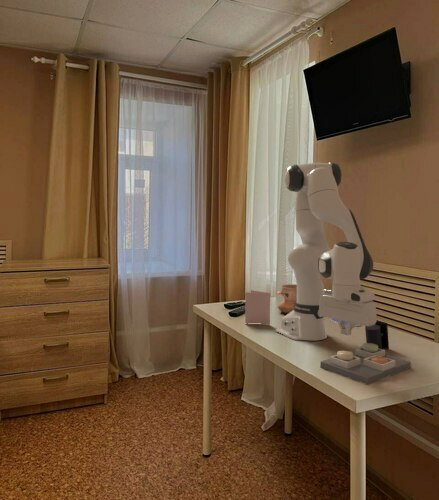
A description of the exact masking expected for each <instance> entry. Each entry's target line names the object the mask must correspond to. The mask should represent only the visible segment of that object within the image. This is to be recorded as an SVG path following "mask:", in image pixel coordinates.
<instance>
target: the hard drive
mask: <svg viewBox="0 0 439 500" xmlns="http://www.w3.org/2000/svg"><path fill="white" fill-rule="evenodd" d="M332 320H333V321H332ZM331 321H332V322H334V321H335V322H334V323H336V322H337V323H336V324H338V320H337V319H332V318H331ZM344 325H345V327H346V328H347V327H348V325H347V322H346V321H345V323H344ZM361 326H362V325H359V324H355V325H354V327H361Z"/></svg>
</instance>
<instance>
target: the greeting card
mask: <svg viewBox="0 0 439 500" xmlns="http://www.w3.org/2000/svg"><path fill="white" fill-rule="evenodd" d="M244 293H245V299H244V301H245V308H244V312H245V314H244V316H245V317H244V318H245V320H244V322H245V323H261V324H270V325H271V293H270V292H264V291H258V290H250V292H244ZM245 323H244V324H245Z"/></svg>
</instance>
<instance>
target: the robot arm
mask: <svg viewBox="0 0 439 500" xmlns="http://www.w3.org/2000/svg"><path fill="white" fill-rule="evenodd" d="M342 176H343V175H342V170H341V167H340V165H339V164H337V163H335V162H327V163H326V162H310V163H303V164H292V165H290V166H288V167H287V168H286V169H285V173H284V184H285V186H286V188H287V190H288V191H290V192H295V200H294V212H295V213H294V215H295V216H294V217H295V230H296V232H297V234H298V235H299V236H300V240H301V243H302V244H299V245H297V246H295V247H293V248H291V250H289V253H288V255H287V262H288V265H289V266H290V268H291V269H292V271H293V273H294V276H295V277H294V278H295V282H296V283H295V284H296V285H297V302H296V303H292V304H294V305H292V306H294V309H293V311H291V312H290V313H289V314H286V315H284V316H283V317H282V319H281V323H280V326H277V327H276V328H275V332H276V333H278V332H279V334H280V333H281V334H280V335H282V334H283V336H285V337H287V338H289V339H292V340H295V341H321V340H322V341H323V340H325V339H327V338H328V335H327V331H326V325H325V318H328V319H331V320H332V319H337V320H338V323H337V324H338V327H339V329H340V334H342V335H346V336H351V335H352V330H353V328H354V327H355V326H354V325H355V324H359V325H361V326H372V325H374V324H375V323H376V321H377V306H376V304H375V302H374V301H375V300H376V295H375V293H373V292H371V291H369V290H368V289H365V288H364V287H362V285H361V280H365V279H366V278H367V277H368V276H370V275H371V273H372V271H373V270H374V260H373V258H372V256H371V253H370V252H369V250H368V249H367V246H366V244H365V241H364V239H363V236H362V232H361V231H360V228H359V225H358V223H357V220H356V218H355V215H354V213H353V211H352V210H351V209H350V208H348V207H347V206H346V205H345V204H344V202H343V201H342V199H341V197H340V192H339V188H338V187H339V186H340V185H341V182H342ZM324 223H328V224H331V225H333V226H335V227H337V228H339V229H340V230H341V231H342V232H343V234H344V236H345V238H346V241H340V242H339V241H338V242H336V243H334V244H333V248H332V249H331V247H330V246H329V243H328V240H327V237H326V234H325V233H326V232H325V228H324ZM321 276H322V277H323V278H324V279H329V280H332V283H331V284H332V285H331V287H332V288H331V289H325V285H324V283H323V281H322V279H321ZM345 321H346V322H347V325H348V327H345V325H344V323H345Z"/></svg>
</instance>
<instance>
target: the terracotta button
mask: <svg viewBox="0 0 439 500" xmlns="http://www.w3.org/2000/svg"><path fill="white" fill-rule="evenodd" d="M371 361H373V362H376V363H380V364H384V363H387V362H388V360H387V359H386V358H384V357H379V356H374V357H371Z"/></svg>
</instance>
